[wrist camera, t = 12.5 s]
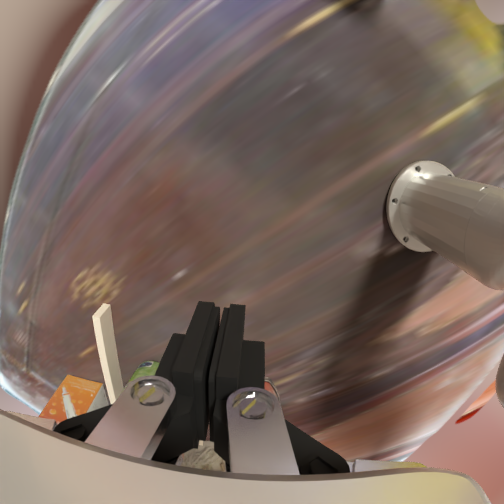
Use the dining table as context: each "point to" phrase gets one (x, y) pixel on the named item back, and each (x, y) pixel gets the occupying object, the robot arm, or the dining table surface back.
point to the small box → (75, 399)
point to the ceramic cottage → (204, 458)
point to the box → (109, 352)
